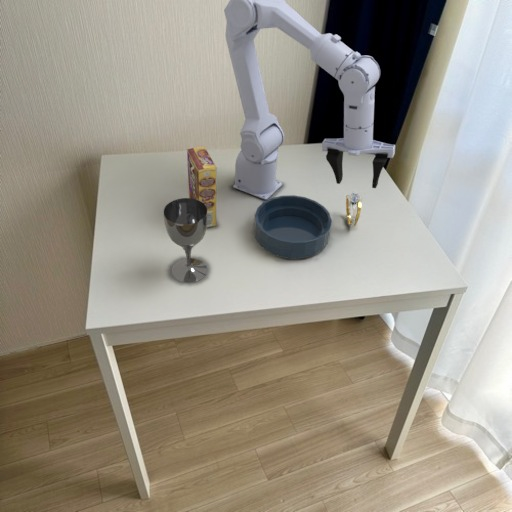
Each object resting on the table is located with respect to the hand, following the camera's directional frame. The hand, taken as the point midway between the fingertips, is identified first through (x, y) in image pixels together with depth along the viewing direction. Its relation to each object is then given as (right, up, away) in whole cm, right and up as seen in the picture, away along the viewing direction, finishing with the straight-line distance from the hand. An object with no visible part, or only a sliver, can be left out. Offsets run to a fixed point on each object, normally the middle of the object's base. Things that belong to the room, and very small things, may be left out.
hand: (357, 183), depth 111 cm
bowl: (-14, -11, +3) cm, 18 cm away
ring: (0, -8, +7) cm, 11 cm away
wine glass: (-35, -18, -6) cm, 40 cm away
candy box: (-33, -7, +7) cm, 35 cm away
